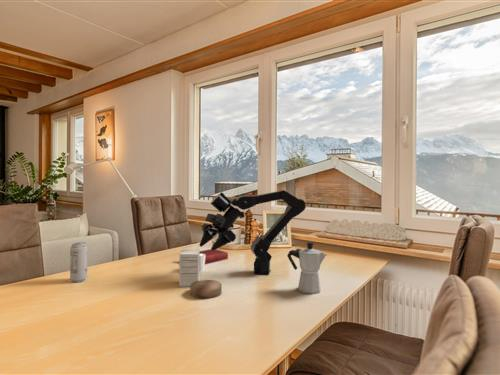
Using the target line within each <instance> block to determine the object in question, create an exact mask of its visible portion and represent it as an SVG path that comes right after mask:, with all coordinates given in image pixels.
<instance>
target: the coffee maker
mask: <svg viewBox="0 0 500 375" xmlns="http://www.w3.org/2000/svg"><path fill="white" fill-rule="evenodd" d="M306 245H307V248H304V249H301V248H296V249H295V250H294V249H291V250H289V251H288V254H287V255H286V256H287V258H288V260H289V262H290V263H291V265H292V267H293V269H294V270H295V271H296V270H298V266H297V265H296V263H295V260H294V259H293V257H295V258H297V259H299V260H298V262H299V268H300V269H301V272H300V274H299V275H300V276H299V281H298V286H297V291H299V292H300V293H303V294H307V295H308V294H309V295H316V294H320V293H321V282H320V275H319V274H320V273H319V270H320V268H321V264H322V263H323V261H324V259H325V258H326V256H328V254H326V253H324V252H321V250H318V249H314V248H313V246H314V241H313V242H312V241H307V242H306ZM292 256H293V257H292Z"/></svg>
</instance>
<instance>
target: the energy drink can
mask: <svg viewBox="0 0 500 375" xmlns="http://www.w3.org/2000/svg"><path fill="white" fill-rule="evenodd" d="M69 249H70V250H69V253H70V254H69V255H70V256H69V265H70V266H69V279H70V281H71V282H72V283H81V281H82V282H85V281H86V279H87V278H88V245H87V243H86V242H85V241H76V242H72V243H71V246H70V248H69Z"/></svg>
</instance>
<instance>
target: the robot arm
mask: <svg viewBox="0 0 500 375" xmlns="http://www.w3.org/2000/svg"><path fill="white" fill-rule="evenodd" d="M279 200H282V201H283V202H284V203H285V204H287V205H286V207H285V209H284V212H283V213H282V214H281V215H280V217H279V218H277V220H276V221H275V223H273V224H272V226H271V227H270V228H269V229H268V230H267V231H266V233H264V235H262V236H259V235H257V236H256V237H255V239H253V241H251V244H250V251H251V252H252V254H253V255H254V256H255V258H254V262H253V274H254V275H266V276H268V275H270V273H271V271H272V270H271V259H272V257H273V256H272V255H271V253H269V250H270V247H271V245H272V243H273V241H274V240H275V239H276V238H277V237H278V235H279V234H280V233H281V231H283V230H284V228H286V226H288V224H289V223H290V222H291V221H292V219H294V218H295V217H297V216H299V215H300V214H301V213H303V212H304V211H305V209H306V208H307V204H306V201H305V200H303V199H301V198H297V197H296V196H294V195H293V194H292V193H290V192H288V191H287V190H285V189H280V190H277V191H272V192H267V193H262V194H258V195H239V196H237V197H236V198H234V199H229V198H228V197H227V196H226V195H225V193H224V192H222V191H221V192H220V193H219V194H218V195H216V196H214V198H213V199H212V200H211V202H210V205H212V206H213V207H214V208H215V209H216V210H218V212H219V213H216V214H214V213H207V215H206V218H205V222H209V223H203V225H202V226H201V230H202V231H203V233H202V237H201V240H200V243H199V247H201V248H202V247H204V246H205V245H206V244H207V243H209V242H210V241H212V240H214V237H215V236H216V235H218V237H217V239H216V240H215V241H214V243H213V245H212V246H211V248H210V249H211V250H212V251H214V250H216V249H217V250H219V249H220V248H221V247H223V246H226V245H227V244H230V243H234V242H235V240H236V239H237V235H236V234H235V233H234V231H233V230H232V229H231V228H234V226H235V225H234V224H235V222H236V221H237V219H238V218H239V219H244V218H245V210H248V209H250V208H253V207H255V206H256V205H260V204H264V203H271V202H274V201H279ZM240 209H241V210H242V211H241V210H240ZM221 212H223V213H224V214H223V215H222V214H221Z"/></svg>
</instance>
